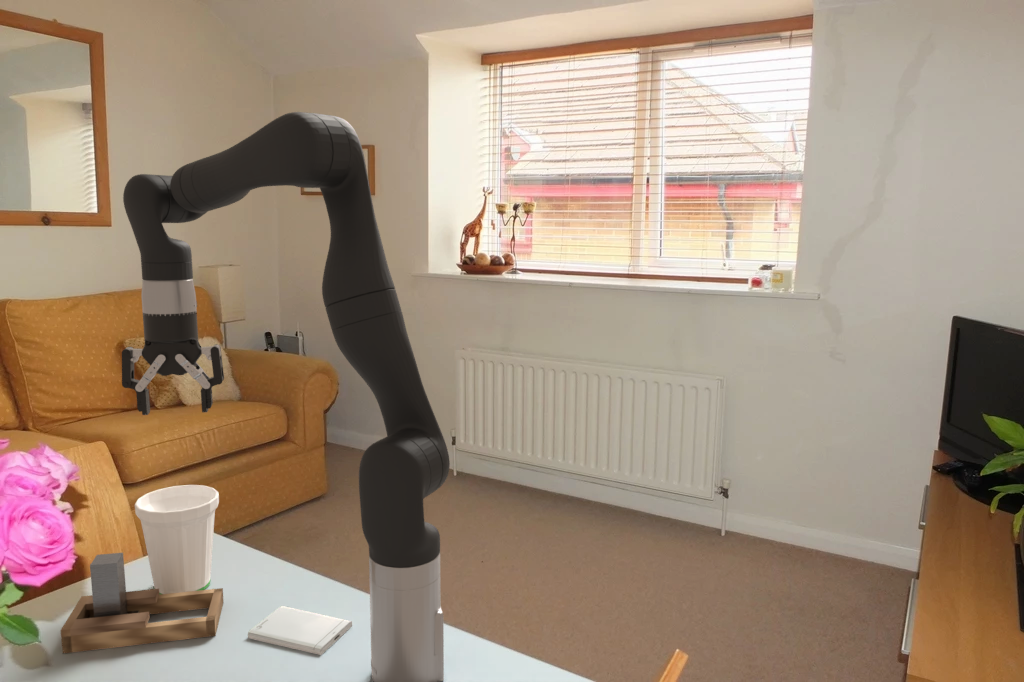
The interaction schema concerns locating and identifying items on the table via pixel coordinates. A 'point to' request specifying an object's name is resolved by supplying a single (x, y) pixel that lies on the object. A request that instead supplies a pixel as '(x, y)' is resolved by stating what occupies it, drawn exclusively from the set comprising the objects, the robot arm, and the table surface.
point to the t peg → (109, 585)
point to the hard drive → (300, 630)
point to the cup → (179, 536)
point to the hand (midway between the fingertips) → (176, 412)
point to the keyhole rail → (141, 620)
